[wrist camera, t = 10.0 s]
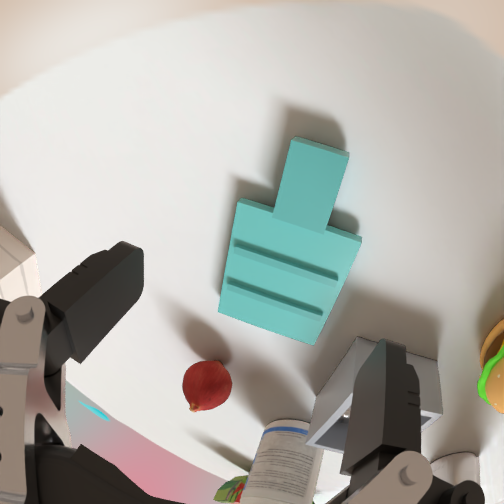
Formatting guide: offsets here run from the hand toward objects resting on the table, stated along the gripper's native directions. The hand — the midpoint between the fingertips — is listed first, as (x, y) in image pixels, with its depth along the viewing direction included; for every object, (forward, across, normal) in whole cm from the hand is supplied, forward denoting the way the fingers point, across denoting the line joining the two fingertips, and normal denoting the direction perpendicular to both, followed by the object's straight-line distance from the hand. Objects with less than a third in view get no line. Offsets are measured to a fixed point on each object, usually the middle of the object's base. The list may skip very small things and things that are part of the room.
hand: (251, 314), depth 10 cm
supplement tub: (+17, -10, +37) cm, 42 cm away
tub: (+16, -14, +20) cm, 29 cm away
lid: (+16, 0, +7) cm, 18 cm away
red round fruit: (+16, +4, +26) cm, 31 cm away
